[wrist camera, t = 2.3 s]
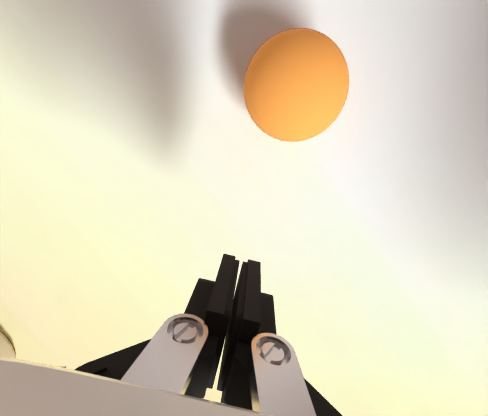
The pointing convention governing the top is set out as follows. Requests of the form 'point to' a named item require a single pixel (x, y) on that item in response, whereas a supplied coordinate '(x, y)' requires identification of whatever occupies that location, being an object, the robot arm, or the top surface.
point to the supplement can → (6, 347)
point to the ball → (296, 84)
